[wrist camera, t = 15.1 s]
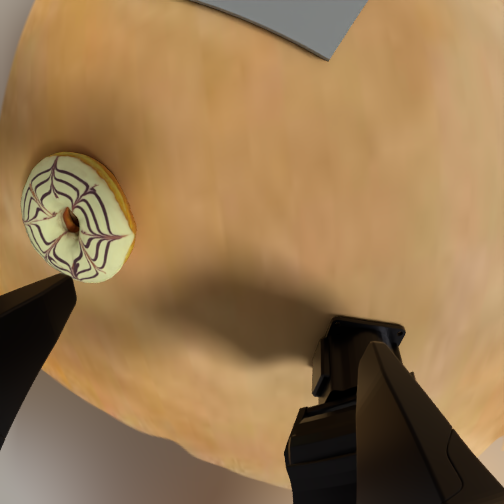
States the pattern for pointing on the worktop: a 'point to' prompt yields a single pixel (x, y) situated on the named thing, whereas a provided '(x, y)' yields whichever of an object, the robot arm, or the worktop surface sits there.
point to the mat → (298, 19)
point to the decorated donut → (88, 213)
